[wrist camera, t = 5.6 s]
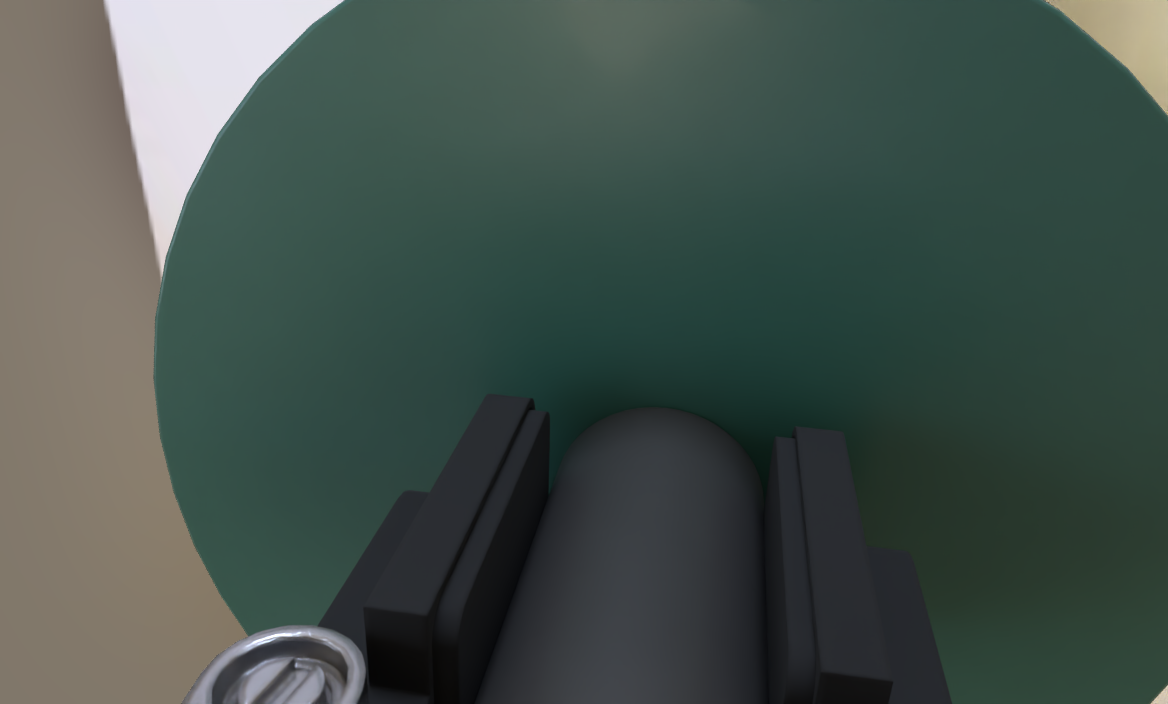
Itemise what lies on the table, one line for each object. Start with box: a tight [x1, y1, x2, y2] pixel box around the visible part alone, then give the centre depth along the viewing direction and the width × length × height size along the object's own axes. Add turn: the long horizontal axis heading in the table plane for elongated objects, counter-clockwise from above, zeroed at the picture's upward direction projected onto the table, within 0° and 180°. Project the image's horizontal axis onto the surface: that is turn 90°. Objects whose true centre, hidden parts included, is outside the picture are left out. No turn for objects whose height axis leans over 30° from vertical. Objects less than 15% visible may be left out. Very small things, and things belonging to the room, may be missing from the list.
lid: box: [154, 0, 1168, 704], centre depth 10 cm, size 14×14×6 cm
